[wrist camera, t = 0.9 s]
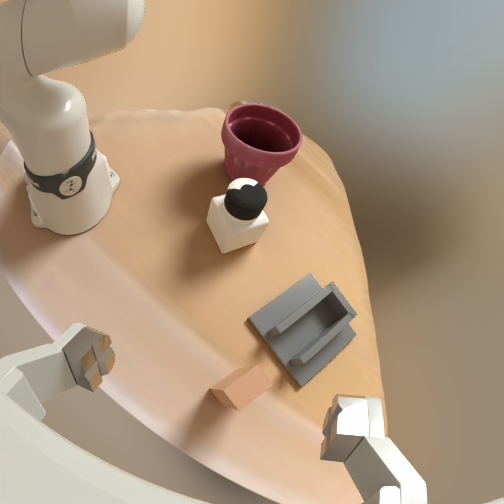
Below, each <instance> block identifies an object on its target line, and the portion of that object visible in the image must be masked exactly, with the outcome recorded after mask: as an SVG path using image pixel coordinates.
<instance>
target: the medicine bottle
mask: <svg viewBox="0 0 504 504" xmlns="http://www.w3.org/2000/svg"><path fill="white" fill-rule="evenodd" d="M266 202H267V193H266V191H265V189H264V188H263V186H262V185H261V184H260V183H258V182H257V181H255V180H253V179H249V178H239V179H236V180H234V181H232V182H231V183H230V184H229V186H228V189H227V192H226V194H225V195H221V196H217V197H214V198H212V200H211V204H210V207H209V211H208V215H207V219H206V222H207V224H208V226H209V228H210V230H211V232H212V234H213V236H214V238H215V240H216V242H217V244H218V246H219V248H220V251H221V253H222V254H225V253H228V252H230V251H233V250H236V249H239V248H241V247H244V246H247V245H250V244H253V243H255V242H257V241H258V240H259V238H260V237H261V235H262V233H263V232H264V230H265V228H266V227H267V225H268V223H269V220H268V218H267V216H266V215H265V213H264V211H263V208H264V206H265V205H266Z"/></svg>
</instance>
